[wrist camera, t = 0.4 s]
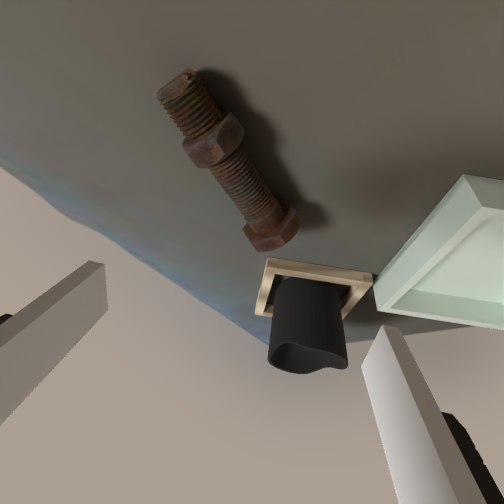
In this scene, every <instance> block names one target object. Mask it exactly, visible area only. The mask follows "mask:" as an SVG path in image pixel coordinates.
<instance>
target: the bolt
mask: <svg viewBox="0 0 504 504" xmlns="http://www.w3.org/2000/svg"><path fill="white" fill-rule="evenodd" d="M157 100H159V101H161V104H160V105H164V109H166V110H168V111H167V114H171V116H170V118H172V119H174V123H177V127H180V131H182V132H183V135H185V136H186V138H185V139H184V141H183V144H182V147H183V149H184V150H185V152H186V153H187V155H188V156H189V157H190V159H191V160H192V161H193V163H194V164H195V165H196V166H197V168H207V167H208V169H210V172H212V174H213V175H214V176H215V178H216V179H217V181H218V182H219V184H220V185H221V186H222V188H223V189H224V190H225V191H226V193H227V194H228V195H229V197H231V199H232V200H233V202H234V203H235V205H236V206H237V208H238V209H239V211H241V213H242V214H243V216H244V218H245V220H246V221H247V224H246V225H245V226H244V228H243V231H244V233H245V234H246V236H247V238H248V239H249V241H250V242H251V244H252V245H253V247H254V248H255V249H256V250H257V252H266V251H273V250H276V249H278V248H280V247H282V246H283V245H285V244H286V243H287V242H289V241H290V240H291V239H292V238H293V237H294V236H295V234H296V233H297V231H298V228H299V226H300V223H301V218H300V216H299V214H298V213H297V211H296V210H295V209H294V208H293V207H292V206H291V205H290V204H289V203H287V202H286V201H285V200H282V201H279V202H278V201H277V200H276V198H275V197H274V196H273V195H272V194H271V192H270V190H269V189H268V187H267V185H266V184H265V182H264V181H263V179H262V177H261V175H260V174H259V172H258V171H257V169H256V168H255V166H254V164H253V163H252V162H251V159H249V156H248V155H247V153H246V152H245V150H244V148H243V146H242V145H241V144H240V143H241V141H242V139H243V136H244V132H245V131H244V129H243V128H242V126H241V124H240V123H239V121H238V119H237V118H236V117H235V115H234V114H233V113H232V112H230V111H228V110H223V111H220V110H219V109H217V108H218V106H217V105H215V101H213V100H212V97H211V96H209V92H207V91H206V87H203V82H200V77H197V72H193V70H192V69H190V68H187V69H186V70H185V71H184V72H182V73H181V74H179V75H178V76H177V77H175V78H174V79H173V80H171V81H170V82H169V83H168V84H166V85H165V86H164V87H162V88H161V89H159V91H158V95H157Z"/></svg>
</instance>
